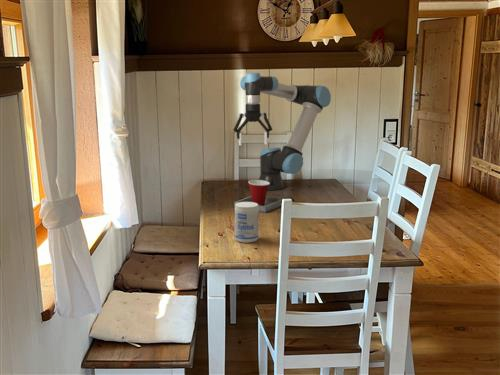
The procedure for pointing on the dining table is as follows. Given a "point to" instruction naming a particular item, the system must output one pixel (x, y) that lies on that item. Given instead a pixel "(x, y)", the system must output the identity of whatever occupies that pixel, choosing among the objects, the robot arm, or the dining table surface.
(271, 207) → the tray
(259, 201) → the plastic cup
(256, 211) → the supplement tub
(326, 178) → the dining table surface
